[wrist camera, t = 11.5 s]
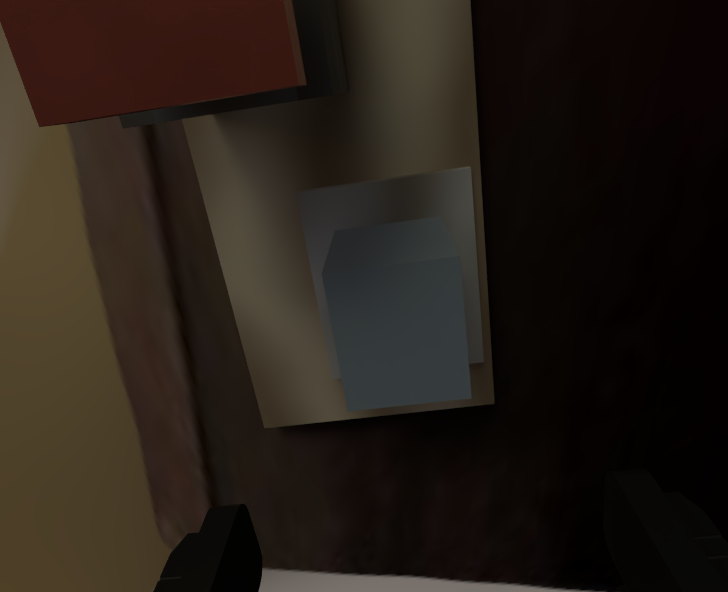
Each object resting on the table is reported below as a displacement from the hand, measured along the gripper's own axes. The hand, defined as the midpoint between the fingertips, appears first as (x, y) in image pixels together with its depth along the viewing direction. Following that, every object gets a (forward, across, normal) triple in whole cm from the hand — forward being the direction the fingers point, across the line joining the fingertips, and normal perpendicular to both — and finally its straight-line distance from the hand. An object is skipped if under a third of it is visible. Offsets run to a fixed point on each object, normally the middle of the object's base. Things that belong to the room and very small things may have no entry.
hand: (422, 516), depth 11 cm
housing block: (+15, 0, 0) cm, 15 cm away
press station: (+17, +2, -4) cm, 17 cm away
